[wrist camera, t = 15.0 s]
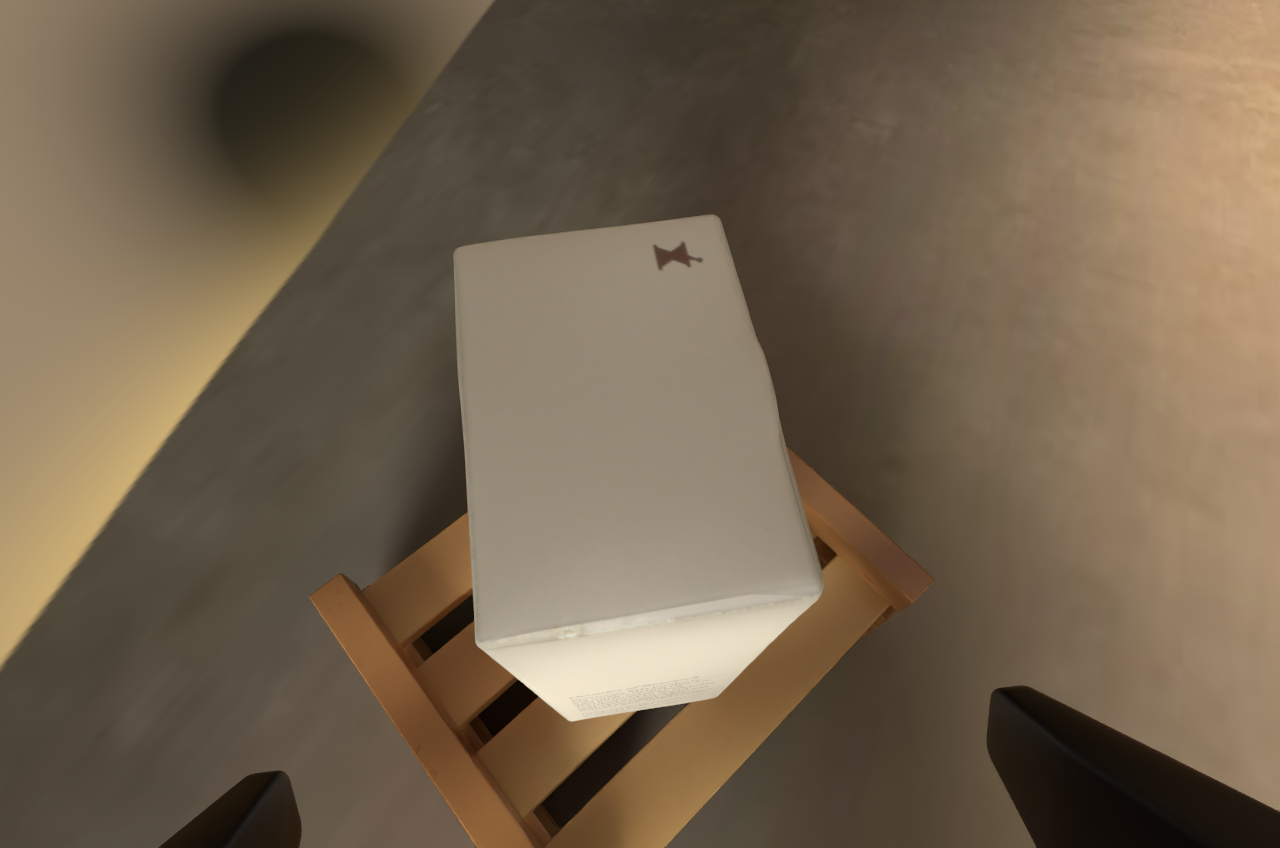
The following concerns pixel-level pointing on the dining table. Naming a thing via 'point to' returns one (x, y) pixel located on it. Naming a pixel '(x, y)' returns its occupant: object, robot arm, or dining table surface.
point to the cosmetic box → (624, 467)
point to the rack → (554, 747)
